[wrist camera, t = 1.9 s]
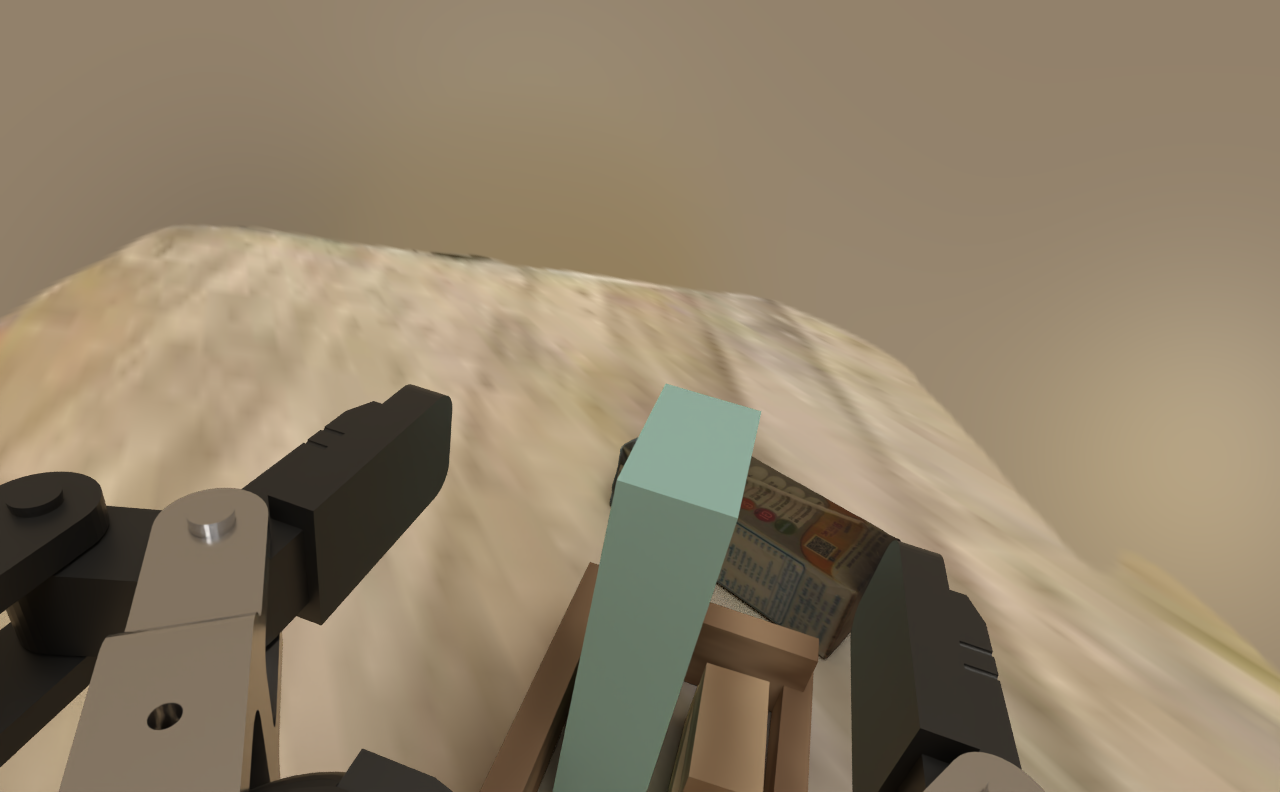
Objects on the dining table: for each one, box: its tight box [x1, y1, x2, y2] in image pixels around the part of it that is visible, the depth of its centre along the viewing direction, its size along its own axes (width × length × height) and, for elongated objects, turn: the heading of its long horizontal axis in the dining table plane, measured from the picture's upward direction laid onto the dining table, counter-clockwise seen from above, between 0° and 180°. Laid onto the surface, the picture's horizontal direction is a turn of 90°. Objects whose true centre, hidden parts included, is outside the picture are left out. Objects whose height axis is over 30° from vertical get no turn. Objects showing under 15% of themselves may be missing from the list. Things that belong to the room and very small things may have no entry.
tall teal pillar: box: [553, 384, 761, 792], centre depth 29 cm, size 4×7×20 cm, turn 165°
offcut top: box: [679, 663, 769, 792], centre depth 32 cm, size 3×6×3 cm, turn 167°
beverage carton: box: [610, 438, 901, 659], centre depth 48 cm, size 8×19×7 cm, turn 50°
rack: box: [480, 562, 819, 792], centre depth 33 cm, size 14×16×5 cm
